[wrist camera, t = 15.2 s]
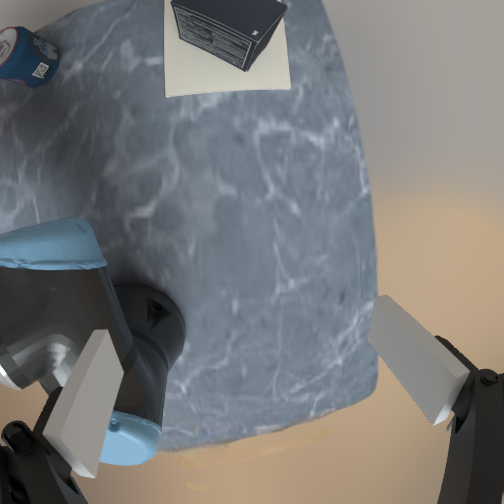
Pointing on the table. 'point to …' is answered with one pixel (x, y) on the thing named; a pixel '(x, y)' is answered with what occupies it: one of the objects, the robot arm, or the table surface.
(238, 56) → the small box
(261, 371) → the table surface
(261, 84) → the mat
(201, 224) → the table surface
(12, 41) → the soda can
